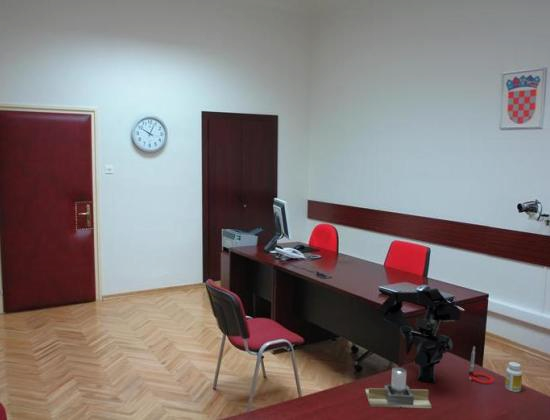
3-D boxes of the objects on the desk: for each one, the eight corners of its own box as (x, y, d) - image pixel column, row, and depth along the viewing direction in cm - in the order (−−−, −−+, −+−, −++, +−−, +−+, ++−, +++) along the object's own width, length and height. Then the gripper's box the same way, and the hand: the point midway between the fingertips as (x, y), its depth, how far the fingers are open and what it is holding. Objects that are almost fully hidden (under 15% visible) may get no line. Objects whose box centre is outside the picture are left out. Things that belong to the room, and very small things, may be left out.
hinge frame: (365, 391, 179) (365, 379, 178) (422, 393, 178) (423, 381, 178) (370, 406, 168) (370, 394, 167) (431, 408, 167) (431, 395, 167)
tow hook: (494, 378, 192) (469, 372, 196) (497, 347, 191) (472, 342, 194) (493, 387, 185) (467, 381, 188) (497, 355, 183) (471, 349, 187)
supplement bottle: (522, 388, 183) (524, 364, 182) (518, 393, 179) (520, 368, 178) (507, 384, 186) (509, 359, 185) (503, 388, 182) (504, 364, 181)
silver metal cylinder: (405, 396, 173) (406, 368, 172) (405, 403, 169) (406, 374, 167) (390, 394, 175) (391, 366, 173) (390, 401, 170) (391, 372, 169)
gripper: (402, 304, 185) (388, 340, 178) (451, 315, 173) (437, 354, 166) (411, 319, 192) (397, 354, 185) (458, 330, 180) (445, 368, 173)
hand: (418, 357), depth 177 cm, fingers open, 9 cm apart
